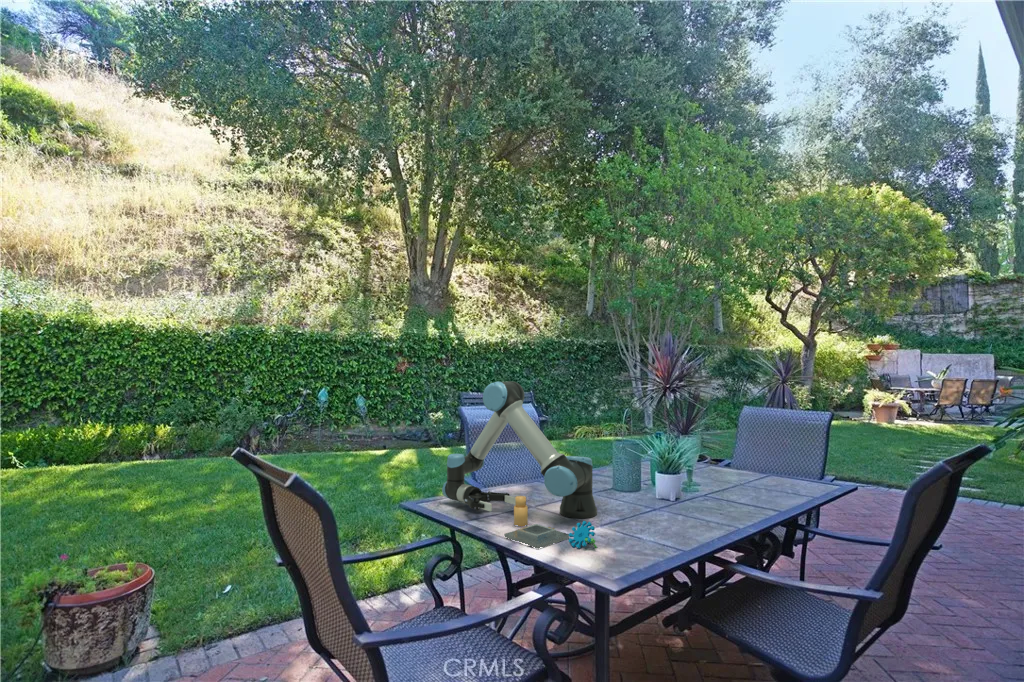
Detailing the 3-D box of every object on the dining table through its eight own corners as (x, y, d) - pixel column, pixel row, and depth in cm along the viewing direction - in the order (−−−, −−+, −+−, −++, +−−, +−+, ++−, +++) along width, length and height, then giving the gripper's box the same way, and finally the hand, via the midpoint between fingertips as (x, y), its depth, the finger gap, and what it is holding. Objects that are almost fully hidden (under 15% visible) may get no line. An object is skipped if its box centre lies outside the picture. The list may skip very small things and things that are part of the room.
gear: (562, 538, 184) (580, 515, 187) (571, 548, 186) (589, 525, 189) (581, 552, 174) (600, 528, 177) (590, 562, 177) (609, 538, 179)
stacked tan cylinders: (520, 522, 208) (520, 494, 208) (530, 525, 204) (530, 497, 205) (511, 525, 204) (511, 497, 205) (520, 528, 201) (520, 499, 201)
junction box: (536, 528, 200) (535, 520, 200) (569, 538, 188) (569, 529, 188) (504, 538, 189) (504, 529, 189) (537, 549, 177) (537, 540, 177)
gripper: (492, 498, 235) (526, 508, 220) (445, 509, 218) (479, 520, 203) (492, 481, 235) (526, 489, 220) (445, 490, 218) (479, 500, 203)
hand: (504, 504), depth 211 cm, fingers open, 13 cm apart
